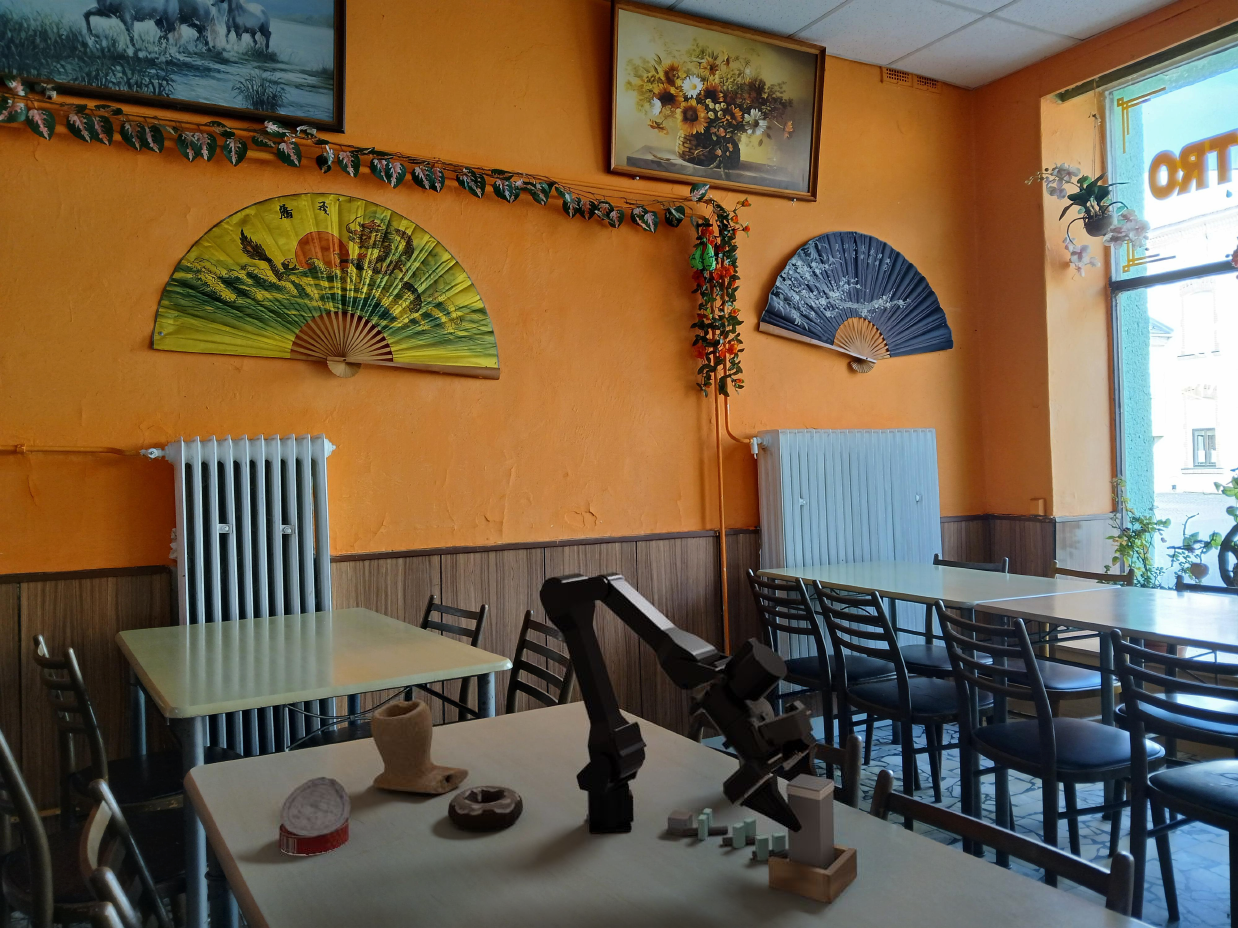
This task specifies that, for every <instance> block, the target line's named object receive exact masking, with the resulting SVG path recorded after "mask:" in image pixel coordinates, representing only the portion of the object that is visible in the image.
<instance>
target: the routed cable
mask: <svg viewBox="0 0 1238 928" xmlns="http://www.w3.org/2000/svg"><path fill="white" fill-rule="evenodd" d="M728 833H729V826H728V825H718V826H717V825H716V826H713V825H712V827H708V835H713V834H714V835H715V834H717V835H718V834H728ZM684 835H687V836H698V826H697V827H693V828H687V830H686V829H683V835H682V836H684ZM760 835H761V834H756V835H752V836H745V844H755V836H760ZM721 840H722V841H721V842H722V845H723V846H725V845H727V846H728V845H733V836H726V837H725V836H722V838H721ZM751 856H752V857H751V858H752V859H756V858H757V852H756V851H755V850H751ZM772 856H773V857H779V858H784V857H789V856H788V848H786V849H785V850H781V851H778V852H775V850H774V849H772V848H771V849H769V858H770V857H772Z"/></svg>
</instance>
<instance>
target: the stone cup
mask: <svg viewBox="0 0 1238 928" xmlns="http://www.w3.org/2000/svg"><path fill="white" fill-rule="evenodd" d="M432 717H433V715H432V711H431V709H430V707H429V706H428V705H427V703H425V702H424V701H423V700H421V699H413V700H410V701H403V700H400V701H399V700H398V701H394V702H391V703H388V704H385V705H384V706H381V707H380V708H378V709H376V710H375V711H374V712H373V713H372V715H371V717H370V731H371V734H372V735H371V736H372V739H373V741H374V743H375V746H376V748H377V750H378V752H379V755H380V757H381V760H382V763H383V765H384V770H383V771H382V772H381V773H380V774H378V775H377V776H376V777H375V778H374V779H373V782H372V783H373V785H374V786H375V787H377V788H379V789H385V790H391V791H400V792H407V793H408V792H410V793H421V794H422V793H423V794H444V793H448V792H450V791H451V790H453V789H455V788H457V787H458V786H460V784H462V783H463V782H464V781H465V780H466V779H467V777H468V776H469V774H470V772H469V770H468V769H467V768H460V767H459V768H458V767H450V766H449V767H448V766H444V765H437V764H434V762H433V761H432V758H431V757H432V756H431V751H432V742H433V741H432V740H433V718H432Z"/></svg>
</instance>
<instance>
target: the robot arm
mask: <svg viewBox="0 0 1238 928" xmlns="http://www.w3.org/2000/svg"><path fill="white" fill-rule="evenodd" d="M538 596H539V600H540V601H539V602H540V603H541V605H542V608H543V610H544V613H545V615H546V617H547V619H548V621H549V622H550V623H551V624H552V625H553V626H554V627H555V628H556V629H557V630H558V631H559V632H560V634H561V635H562V637H563V639H564V643H565V645H566V648H567V652H568V656H569V659H570V662H571V665H572V669H573V672H574V675H575V678H576V681H577V684H578V687H579V691H580V695H581V698H582V702H583V704H584V707H585V710H586V715H587V716H588V720H589V725H590V727H589V731H588V732H589V733H588V739H587V750H588V751H587V752H588V757H589V762H588V763H587V764H586V765H585V766H584V767H583V768H582V769H581V770H580V771H579V772H578V773H577V774H576V781H577V784H578V788H579V790H581V791H586V792H587V814H586V821H587V828H588V833H590V834H595V833H598V834H599V833H600V834H601V833H612V832H613V833H615V832H617V833H618V832H630V831H632V830H633V827H632V823H634V821H635V820H634V819H635V818H634V817H635V816H634V814H635V812H634V795H633V791H632V790H631V789H630V784H629V782H631V781H633V780H636V779H637V775H638V772H639V770H641V767H643V764H644V762H645V760H646V751H645V748H646V747H648V746H647V744H646V741H645V740H644V739H643V736H642V731H641V727H640V724H639V722H638V721H637V720H635V721H633V722H629V721H628V720H627V719H626V718H625V716H624V715H622V712H621V710H620V708H619V707H620V706H619V703H618V701H617V697H616V695H615V690H614V687H613V685H612V682H611V678H610V675H609V673H608V669H607V666H606V662H605V660H604V655H603V653H602V650H601V648H600V646H601V645H600V643H599V641H598V638H597V637H598V636H597V635H596V632H595V628H594V619H595V611H596V607H597V606H596V602H597V601H599V602H601V603H602V604H603V605H605V607H607V609H609V610H610V611H611V612H612V613H613V614H614V615H615V616H616V617H617V618H618V619H619V620H620V621H621V622H622V623H624V625H626V626H627V627H628V628H629V629H630V630H631V631H632V632H634V634H635V635H636V636H637V637H639V639H641V640H642V642H644V643H645V644H646V645H647V646H648V647H649V648H650V649H651V650H652V651H653V653H654V654H655V656H656V659H657V661H658V664H659V667H660V669H661V671H662V672H663V673H664V674H665V675H666V676H667V678H668V679H669V680H670V682H671V683H672V684H673V685H674V687H676V688H678V689H679V690H682V691H692V690H694V689H697V688H700V687H702V686H705V685H707V684H710V683H711V682H713V681H715V680H717V679H719V678H722V677H724V679H723V680H722V681H721V682H720V683H719V682H713V683H711V684H710V685H709V686H707V688H706V689H705V690H704V691H702V692H700V693H699V692H697V693H695V694H692V695H691V696H690V697H689V700H690V701H689V702H690V704H689V709H688V716H691V717H694V716H696V715H698V714H701V713H702V712H704V713H705V714H706V716H707V717H708V718H709V720H710V721H711V723H712V724H713V725H714V726H715V727H716V729H717V730H718V732H719V733H720V734H721V735H722V737H723V738H724V741H723V742H722V743H721V746H722V747H723V748H724V750H726V751H727V750H729V749H732V750H733V751H734V752H735V753H736V755H737V757H738V756H739V757H740V759H741V760H742V761H743V763H744V764H743V765H742V766H741V767H740V768H738V769H736V770H735V772H733V773H732V774H731V775H730V776H729V777H728V778H727V779H726V780H725V781H723V783H722V793H723V795H724V796H725V798H726V800H728V802H729V803H730V805H732V806H733V805H734V804H736V803H737V802H739V801H741V800H742V799H743V798H744V799H743V800H742V801H741V802H739V804H738V806H740V808H742V807H745V808H746V809H747V808H748V809H750V810H752V811H754V812H756V813H758V814H760V815H763V816H764V817H766V818H768V819H770V820H772V821H773V822H775V823H778V824H779V825H781V826H783V827H785V828H787V830H788V829H790V830H792V831H793V832H795V833H797V832H798V831H799V830H801V829H802V826H801V824H800V822H799V821H798V819H797V817H796V816H795V814H794V813H793V811H792V810H791V808H790V806H789V805H788V803H787V799H785V797H784V796H783V794H782V793H781V791H780V789H779V783H778V782H779V779H778V772H775V773H774V774H772V775H771V773H772V772H773V771H774V770H776V769H777V770H779V771H781V772H783V774H782V775H781V777H782V778H784V779H785V780H786V781H787V782H788V783H789V782H790V781H792V780H793V779H795V778H796V777H797V776H799V775H800V774H805V775H810V776H815V777H819V775H818V771H817V769H816V766H815V759H816V753H817V751H818V748H817V747H818V746H815V745H816V744H817V743H818V742H819V740H818V739H817V738H816V737H815V736H814V735H813V733H812V732H813V731H814V727H813V724H812V723H811V718H812V717H813V712H812V711H810V710H808V707H807V706H806V705H804V704H803V703H802V702H801V701H800V700H795V701H793V702H790V703H788V704H786V705H785V706H784V713H782V714H780V715H778V716H774V718H771V717H770V716H769V715H768V713H766V712H764V711H763V712H761V713H759V714H758V713H757V712H756V711H755V709H754V708H753V707H752V706H751V704H750V703H749V702H748V701H747V700H750V701H754V702H758V701H760V700H761V699H762V698H764V697H765V696H766V695H767V694H768V693H769V692H770V691H772V689H773V688H774V687H775V686H777V684H778V683H779V682H780V681H781V680H782V679H784V678H785V676H787V674H788V669H787V665H786V663H785V661H784V659H783V658H782V656H781V655H780V654H779V653H778V652H777V651H774V650H773V649H772V648H770V647H768V646H767V645H765V644H762V643H760V642H759V641H758V639H757V638H756V637H752V638H749V639H747V640H746V641H745V642H744V643H743V644H742V645H741V646H740V649H739V650H738V651H737V652H736V653H735V654H733V656H732V655H730V654H729V655H728V654H726V653H722V652H719V651H718V650H717V649H716V647H714V646H713V645H712V644H710V643H708V642H707V641H705V640H704V639H702V638H701V637H699V636H697V635H695V634H693V633H690V632H688V631H684V630H682V629H680V628H679V627H677V626H676V625H675V624H674V623H673V622H671V621H670V620H669V619H668V618H667V617H665V615H663V613H661V612H660V611H659V610H658V609H657V608H656V607H655V606H654V605H652V603H650V601H648V600H647V599H646V598H645V597H644V596H642V595H641V594H640V593H639V592H638V591H637V590H636V589H635V588H634V587H633V586H632V585H631V584H629V583H628V582H627V580H626V578H625V576H623V575H622V574H620V573H618V572H615V571H612V572H608V573H602V574H597V575H595V576H590V577H588V576H585V575H584V574H582V573H579V572H574V573H568V574H562V575H557V576H551V577H548V578H546V579H545V580H544V582H543V583H542V586H541V588H540V590H539V594H538ZM812 747H813V748H812ZM768 774H770V776H769V775H768Z"/></svg>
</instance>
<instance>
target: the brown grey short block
mask: <svg viewBox="0 0 1238 928" xmlns="http://www.w3.org/2000/svg"><path fill="white" fill-rule="evenodd" d="M693 824H694V821H693V812H692V811H686V810H677V809H673V810H672V811H671V812H670V813H669V814H668V816H667V834H672V835H678V836H683V829H686V830H687V828H694V826H693ZM684 836H685V837H688V835H684Z"/></svg>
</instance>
